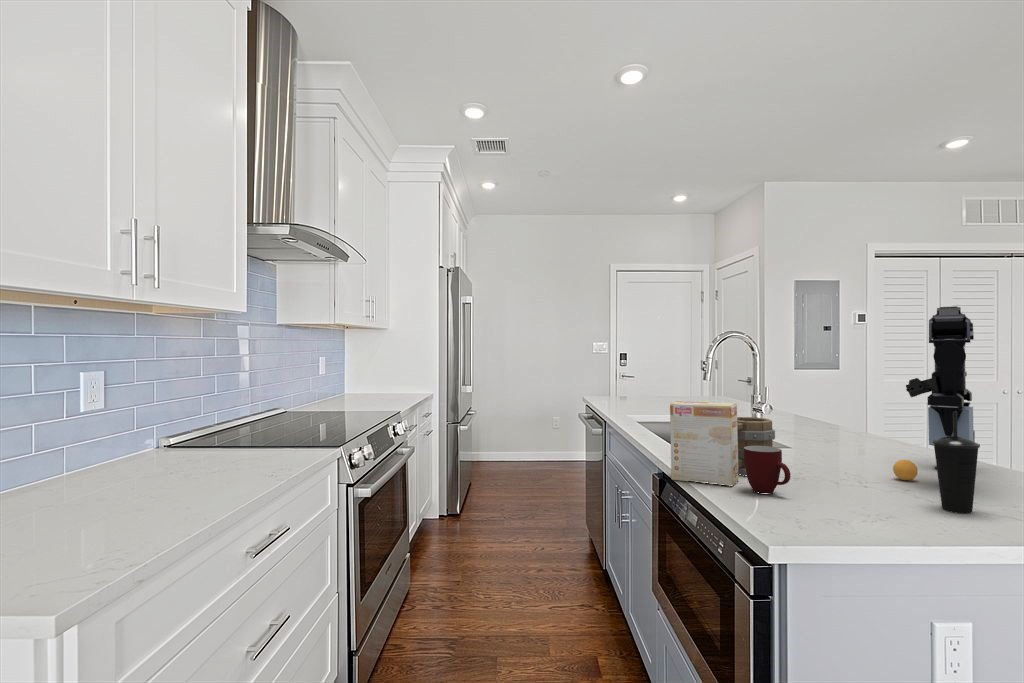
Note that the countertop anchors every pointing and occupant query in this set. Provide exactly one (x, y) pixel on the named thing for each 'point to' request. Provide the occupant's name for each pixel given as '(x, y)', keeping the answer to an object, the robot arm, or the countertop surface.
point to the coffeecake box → (704, 442)
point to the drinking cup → (956, 470)
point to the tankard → (752, 436)
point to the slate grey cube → (962, 425)
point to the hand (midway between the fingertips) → (951, 433)
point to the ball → (905, 470)
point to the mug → (764, 468)
